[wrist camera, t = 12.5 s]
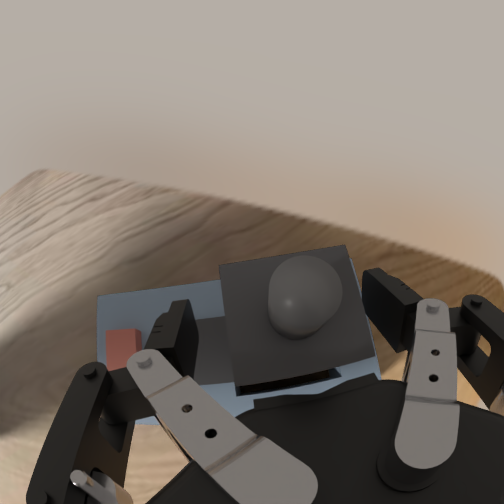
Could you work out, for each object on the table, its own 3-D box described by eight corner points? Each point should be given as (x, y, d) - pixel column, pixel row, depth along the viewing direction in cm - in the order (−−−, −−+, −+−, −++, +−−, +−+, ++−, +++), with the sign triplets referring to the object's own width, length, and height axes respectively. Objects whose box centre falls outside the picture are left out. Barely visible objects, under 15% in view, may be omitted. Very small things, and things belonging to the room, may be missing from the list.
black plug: (252, 380, 16) (223, 389, 5) (243, 326, 17) (205, 231, 6) (315, 369, 16) (408, 347, 5) (304, 315, 17) (363, 208, 7)
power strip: (125, 417, 14) (95, 422, 11) (118, 308, 18) (91, 291, 15) (364, 388, 15) (389, 389, 11) (339, 276, 18) (354, 252, 15)
